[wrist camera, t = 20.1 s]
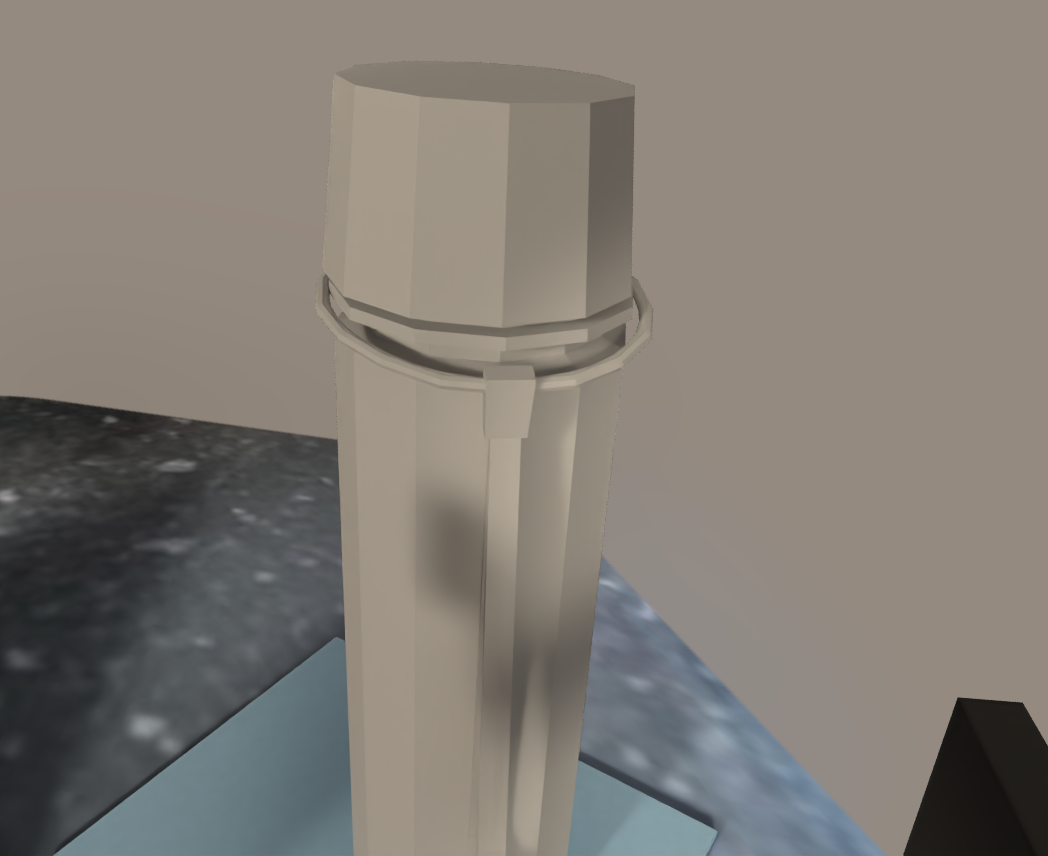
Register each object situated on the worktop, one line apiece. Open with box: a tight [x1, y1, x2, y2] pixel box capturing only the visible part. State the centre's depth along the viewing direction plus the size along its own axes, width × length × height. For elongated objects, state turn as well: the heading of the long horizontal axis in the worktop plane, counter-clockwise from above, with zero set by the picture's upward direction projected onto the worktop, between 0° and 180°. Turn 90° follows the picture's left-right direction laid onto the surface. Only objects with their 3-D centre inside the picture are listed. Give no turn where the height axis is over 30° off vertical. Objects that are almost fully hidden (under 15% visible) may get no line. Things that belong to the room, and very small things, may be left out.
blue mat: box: [53, 637, 717, 856], centre depth 32 cm, size 18×14×1 cm
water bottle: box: [316, 61, 653, 856], centre depth 25 cm, size 9×8×25 cm
